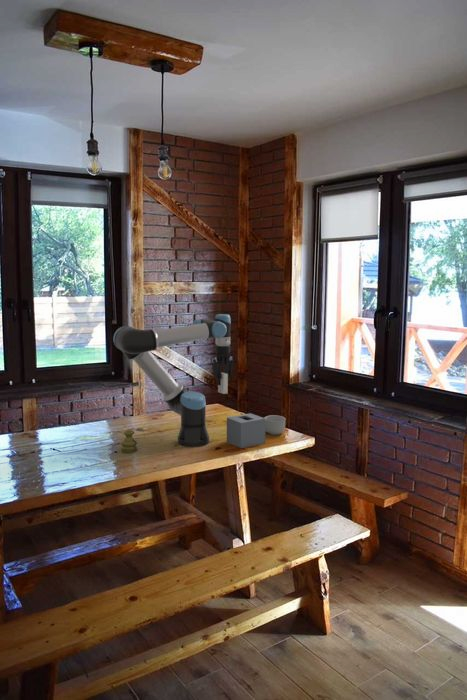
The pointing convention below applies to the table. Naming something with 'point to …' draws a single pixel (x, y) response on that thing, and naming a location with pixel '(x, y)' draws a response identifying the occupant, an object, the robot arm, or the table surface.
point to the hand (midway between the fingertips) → (222, 390)
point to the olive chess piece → (129, 442)
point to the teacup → (274, 424)
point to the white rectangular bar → (224, 383)
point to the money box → (245, 430)
